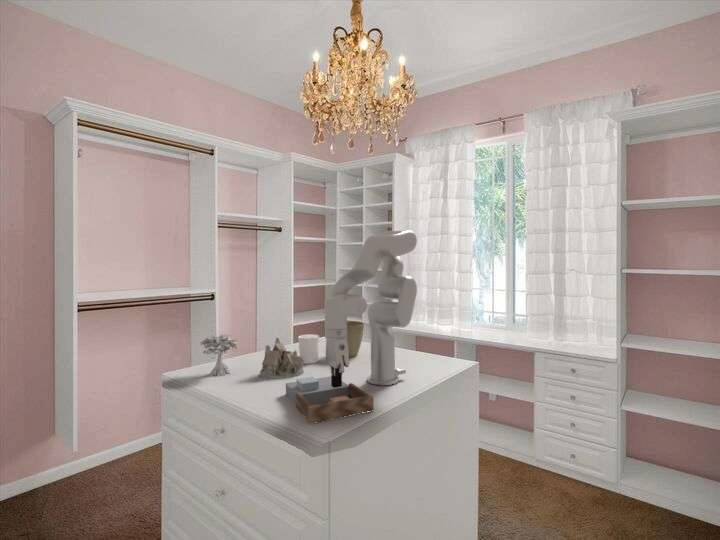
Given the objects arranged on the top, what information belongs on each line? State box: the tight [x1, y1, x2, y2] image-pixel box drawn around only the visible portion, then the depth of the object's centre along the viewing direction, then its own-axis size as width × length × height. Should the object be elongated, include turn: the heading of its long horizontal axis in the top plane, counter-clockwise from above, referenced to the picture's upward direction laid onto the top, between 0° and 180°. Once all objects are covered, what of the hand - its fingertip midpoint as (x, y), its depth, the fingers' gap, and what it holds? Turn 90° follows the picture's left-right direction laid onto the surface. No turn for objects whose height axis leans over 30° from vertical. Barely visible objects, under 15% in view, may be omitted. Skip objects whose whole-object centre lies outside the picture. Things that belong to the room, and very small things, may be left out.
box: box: [295, 383, 374, 425], centre depth 132 cm, size 21×15×5 cm
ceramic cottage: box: [259, 337, 305, 380], centre depth 172 cm, size 16×16×15 cm
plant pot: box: [347, 320, 365, 358], centre depth 203 cm, size 15×15×16 cm
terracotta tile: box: [328, 396, 350, 403], centre depth 135 cm, size 6×6×2 cm
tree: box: [200, 333, 238, 377], centre depth 174 cm, size 18×16×17 cm
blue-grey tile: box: [296, 376, 319, 391], centre depth 142 cm, size 6×6×2 cm
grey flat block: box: [285, 375, 349, 405], centre depth 145 cm, size 19×14×4 cm
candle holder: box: [297, 333, 320, 365], centre depth 192 cm, size 10×10×12 cm
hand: (336, 386), depth 139 cm, fingers closed
